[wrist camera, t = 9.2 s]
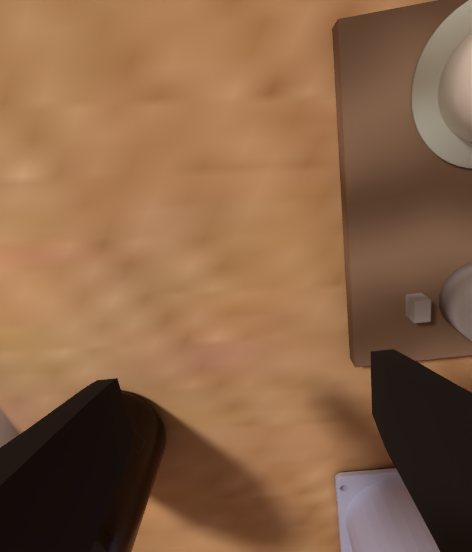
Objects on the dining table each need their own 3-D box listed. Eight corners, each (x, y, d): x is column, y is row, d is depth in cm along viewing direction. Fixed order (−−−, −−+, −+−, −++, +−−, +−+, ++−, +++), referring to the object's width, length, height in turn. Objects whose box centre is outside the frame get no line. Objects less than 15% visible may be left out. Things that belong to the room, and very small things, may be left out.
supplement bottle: (136, 370, 21) (1, 611, 10) (185, 451, 23) (120, 735, 11) (46, 405, 22) (-174, 658, 11) (99, 479, 24) (-40, 765, 12)
